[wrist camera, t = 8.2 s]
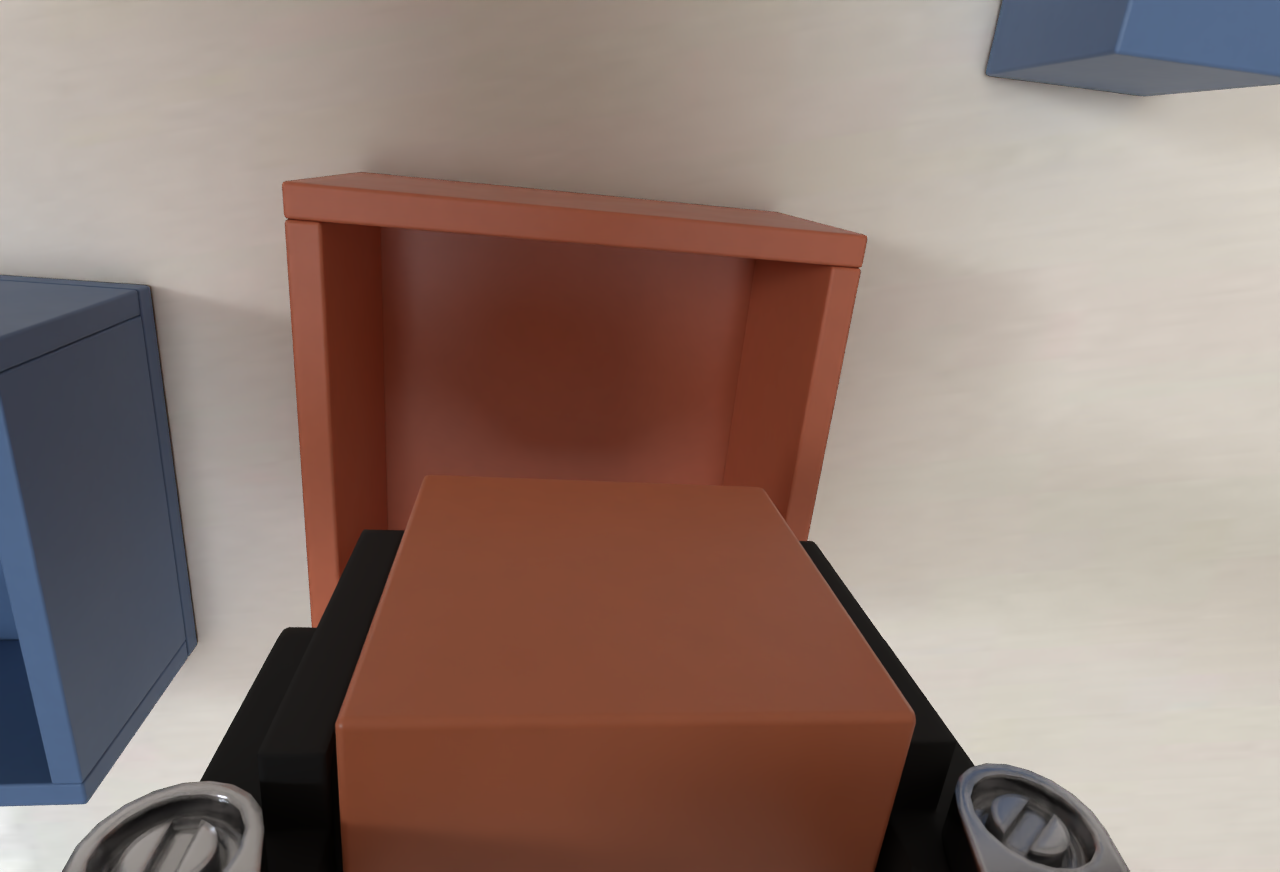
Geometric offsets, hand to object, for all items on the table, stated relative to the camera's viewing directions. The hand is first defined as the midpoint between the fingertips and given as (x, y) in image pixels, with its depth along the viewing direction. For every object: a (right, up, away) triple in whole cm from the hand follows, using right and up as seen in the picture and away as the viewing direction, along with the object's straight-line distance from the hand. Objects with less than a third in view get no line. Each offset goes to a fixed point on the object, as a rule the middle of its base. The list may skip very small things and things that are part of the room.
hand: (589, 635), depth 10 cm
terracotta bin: (-1, +4, +10) cm, 10 cm away
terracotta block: (0, 0, 0) cm, 0 cm away
